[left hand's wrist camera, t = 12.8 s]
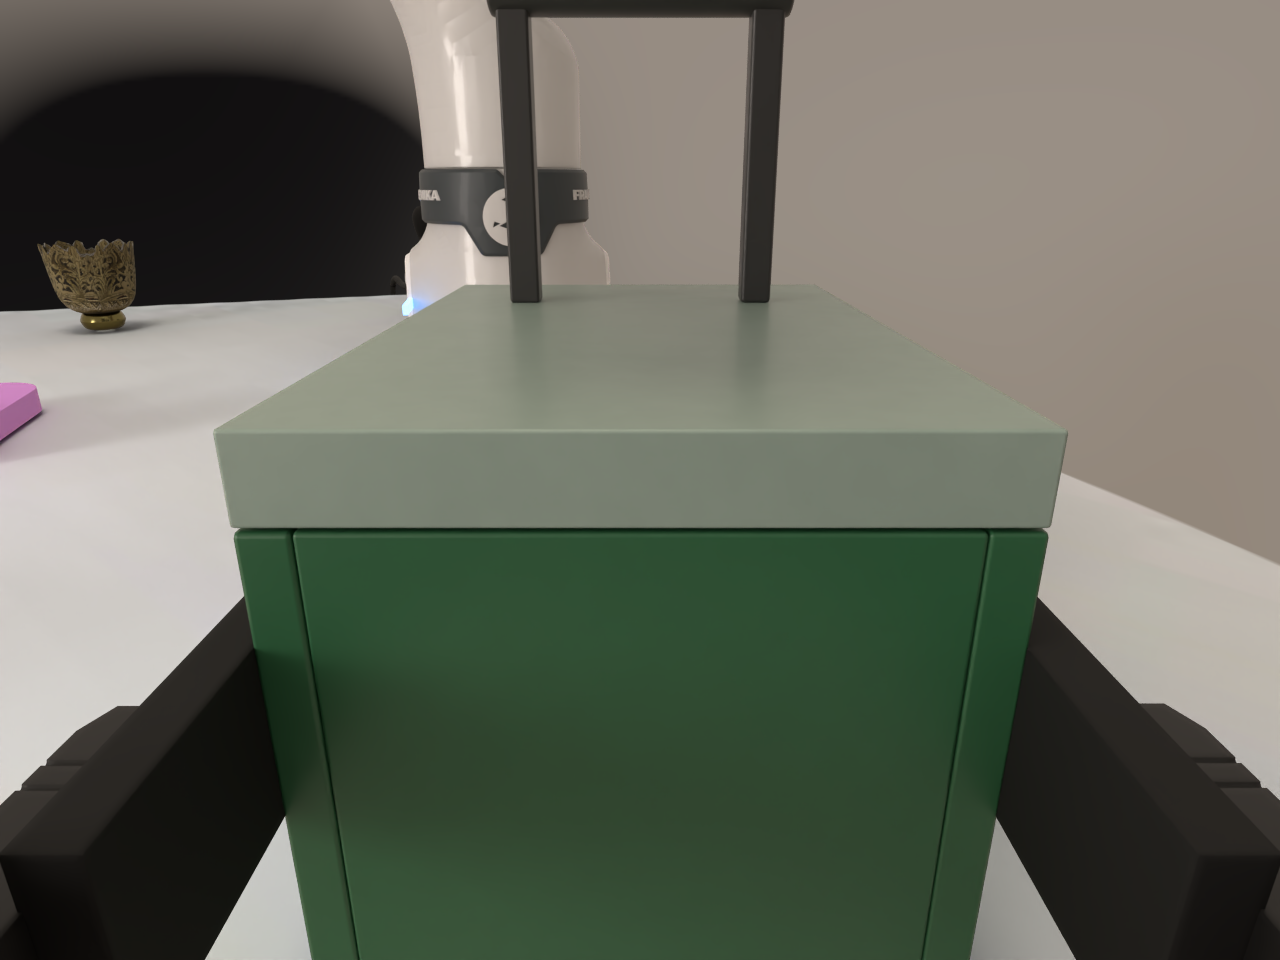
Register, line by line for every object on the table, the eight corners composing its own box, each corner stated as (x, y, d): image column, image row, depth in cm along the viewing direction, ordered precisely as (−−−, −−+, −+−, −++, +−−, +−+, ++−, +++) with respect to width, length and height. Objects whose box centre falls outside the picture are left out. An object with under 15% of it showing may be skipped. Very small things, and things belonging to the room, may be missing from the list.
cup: (52, 337, 74) (29, 245, 71) (64, 325, 80) (43, 240, 77) (147, 331, 77) (129, 242, 74) (151, 319, 83) (135, 237, 80)
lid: (466, 329, 24) (441, -26, 20) (812, 329, 24) (838, -26, 20) (229, 529, 10) (48, -441, 7) (1052, 529, 10) (1234, -440, 7)
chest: (483, 630, 26) (461, 334, 23) (796, 630, 26) (818, 334, 23) (329, 1072, 13) (228, 533, 10) (951, 1072, 13) (1052, 534, 10)
